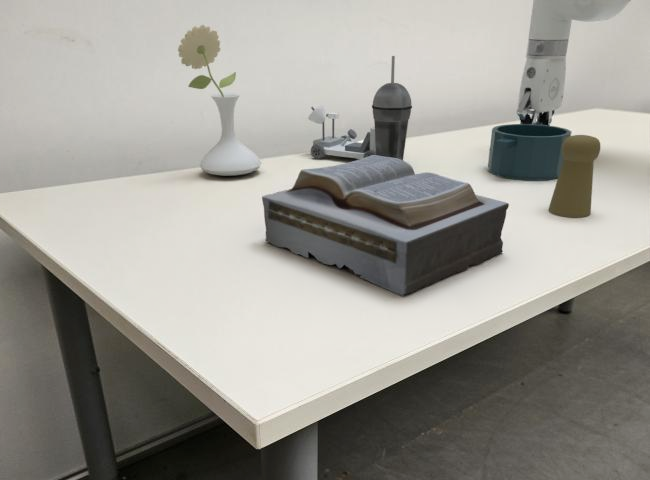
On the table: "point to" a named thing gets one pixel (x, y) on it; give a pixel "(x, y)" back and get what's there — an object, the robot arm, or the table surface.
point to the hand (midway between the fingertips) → (532, 143)
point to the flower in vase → (229, 151)
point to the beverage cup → (391, 118)
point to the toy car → (340, 140)
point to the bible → (386, 222)
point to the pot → (527, 151)
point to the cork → (575, 177)
